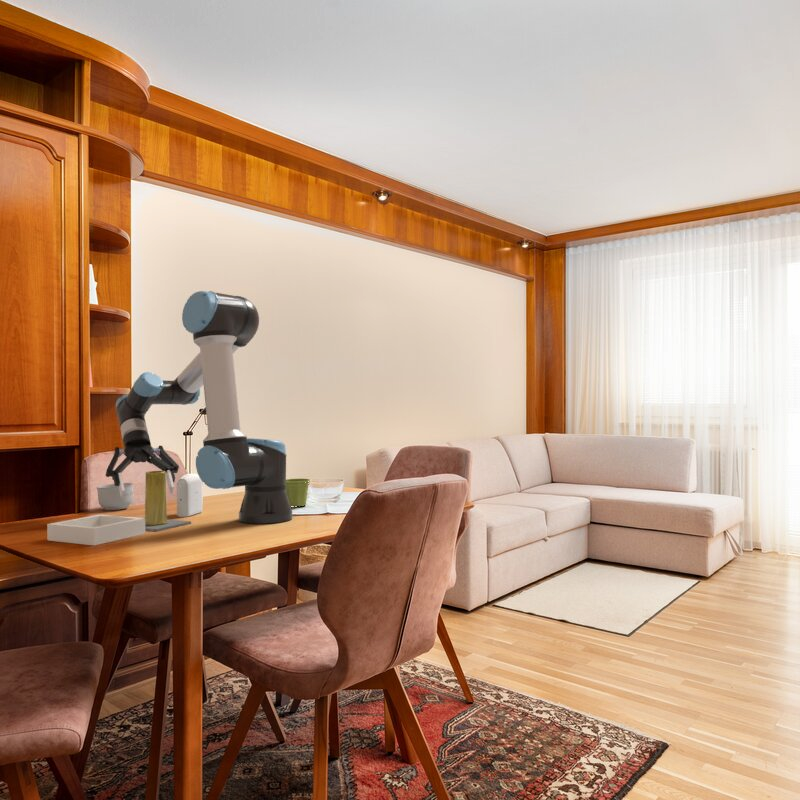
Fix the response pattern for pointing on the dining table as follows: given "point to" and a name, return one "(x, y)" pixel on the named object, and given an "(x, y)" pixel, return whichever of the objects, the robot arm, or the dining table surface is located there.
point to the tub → (95, 529)
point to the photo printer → (189, 495)
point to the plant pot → (297, 491)
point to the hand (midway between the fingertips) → (147, 491)
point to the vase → (155, 498)
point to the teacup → (115, 496)
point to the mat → (166, 525)
